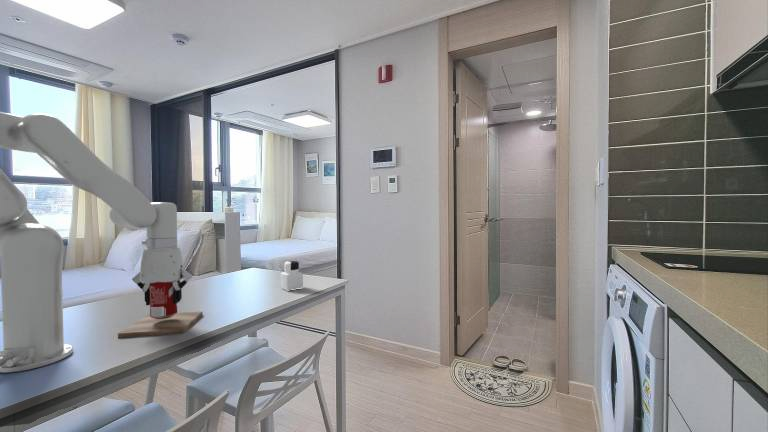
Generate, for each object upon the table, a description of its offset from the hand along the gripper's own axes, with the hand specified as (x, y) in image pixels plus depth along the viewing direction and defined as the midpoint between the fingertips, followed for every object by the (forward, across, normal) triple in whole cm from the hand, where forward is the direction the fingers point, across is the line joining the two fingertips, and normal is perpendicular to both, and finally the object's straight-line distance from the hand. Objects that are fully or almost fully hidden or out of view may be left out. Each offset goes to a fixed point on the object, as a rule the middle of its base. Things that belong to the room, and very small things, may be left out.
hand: (163, 302), depth 98 cm
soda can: (+4, 0, 0) cm, 4 cm away
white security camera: (+7, +34, +38) cm, 52 cm away
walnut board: (+7, 0, 0) cm, 7 cm away
